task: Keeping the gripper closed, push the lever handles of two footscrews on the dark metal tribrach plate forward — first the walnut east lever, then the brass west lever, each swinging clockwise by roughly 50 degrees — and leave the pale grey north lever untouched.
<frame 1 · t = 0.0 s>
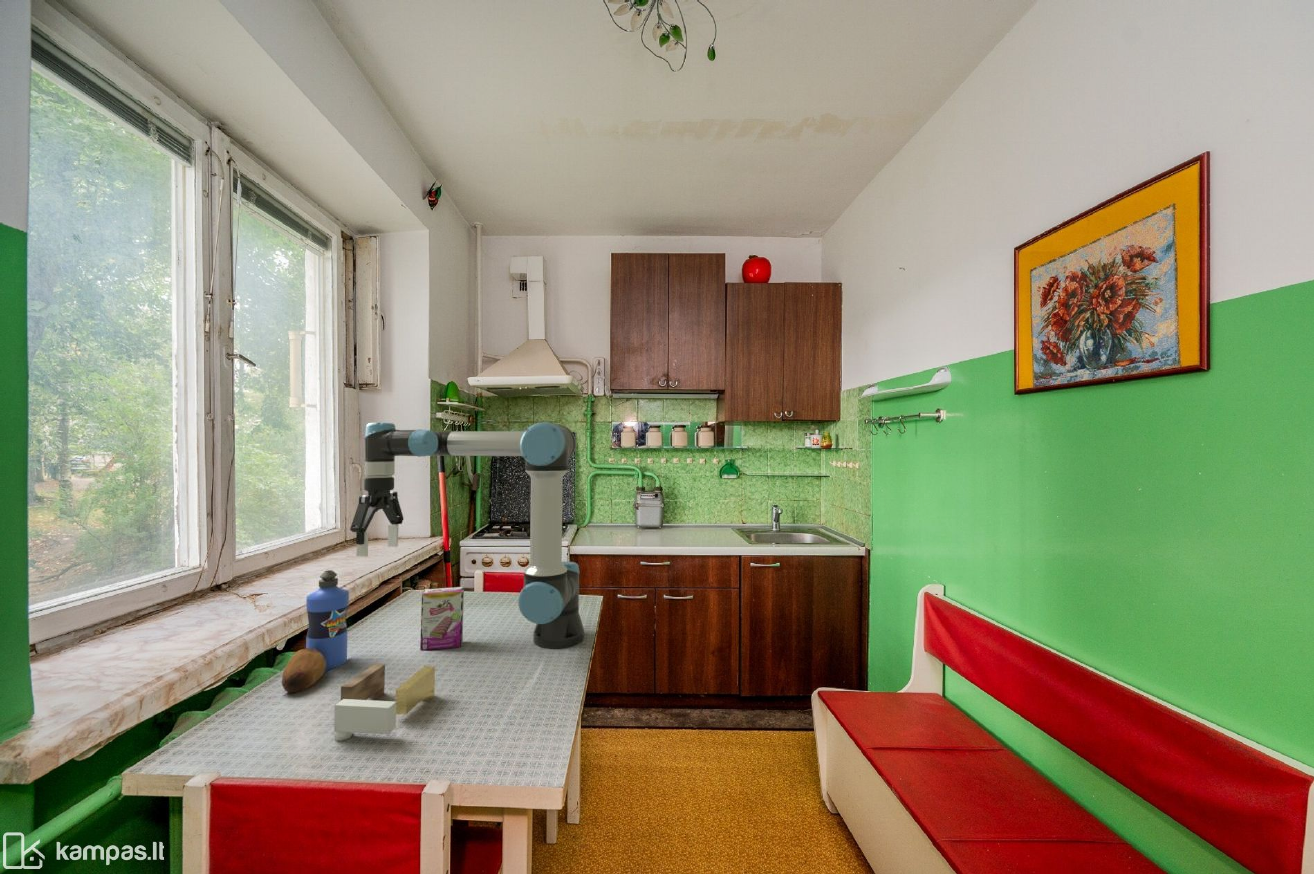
hand: (378, 551, 143), 28 cm above the table, fingers open, 13 cm apart
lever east: (364, 689, 110), point 4 cm above the table, hinge at 0.0°
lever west: (416, 692, 109), point 4 cm above the table, hinge at 0.0°
potato: (304, 688, 120), on the table
water bottle: (326, 667, 131), on the table
tribrach plate: (377, 717, 107), on the table
candy bar box: (442, 647, 145), on the table
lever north: (364, 720, 97), point 4 cm above the table, hinge at 0.0°
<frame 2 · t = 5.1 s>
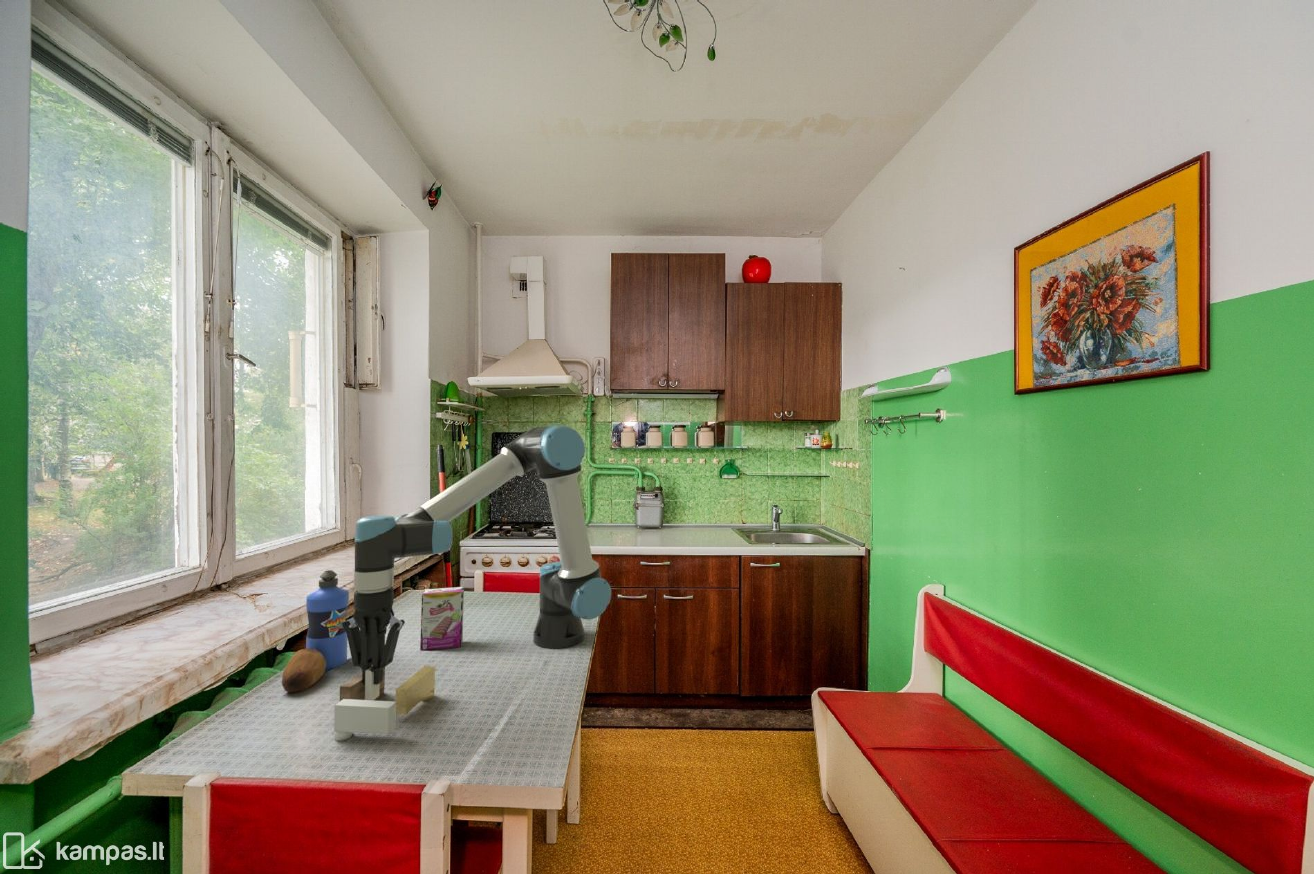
hand: (372, 698, 108), 4 cm above the table, fingers closed
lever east: (364, 689, 110), point 4 cm above the table, hinge at -1.6°, touching gripper
everything else where it was.
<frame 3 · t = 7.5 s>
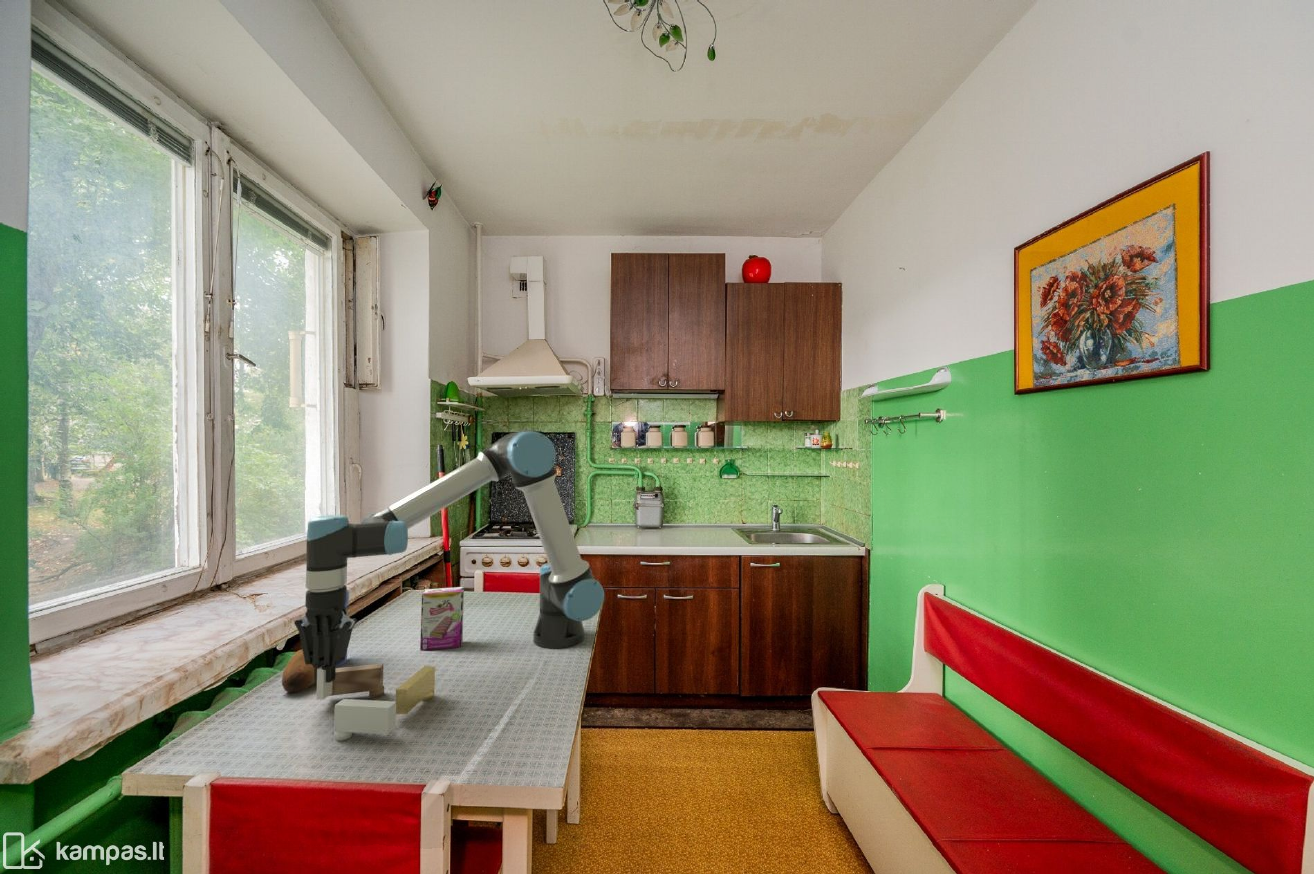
hand: (324, 696, 109), 3 cm above the table, fingers closed
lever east: (355, 682, 113), point 4 cm above the table, hinge at -69.2°, touching gripper
everything else where it was.
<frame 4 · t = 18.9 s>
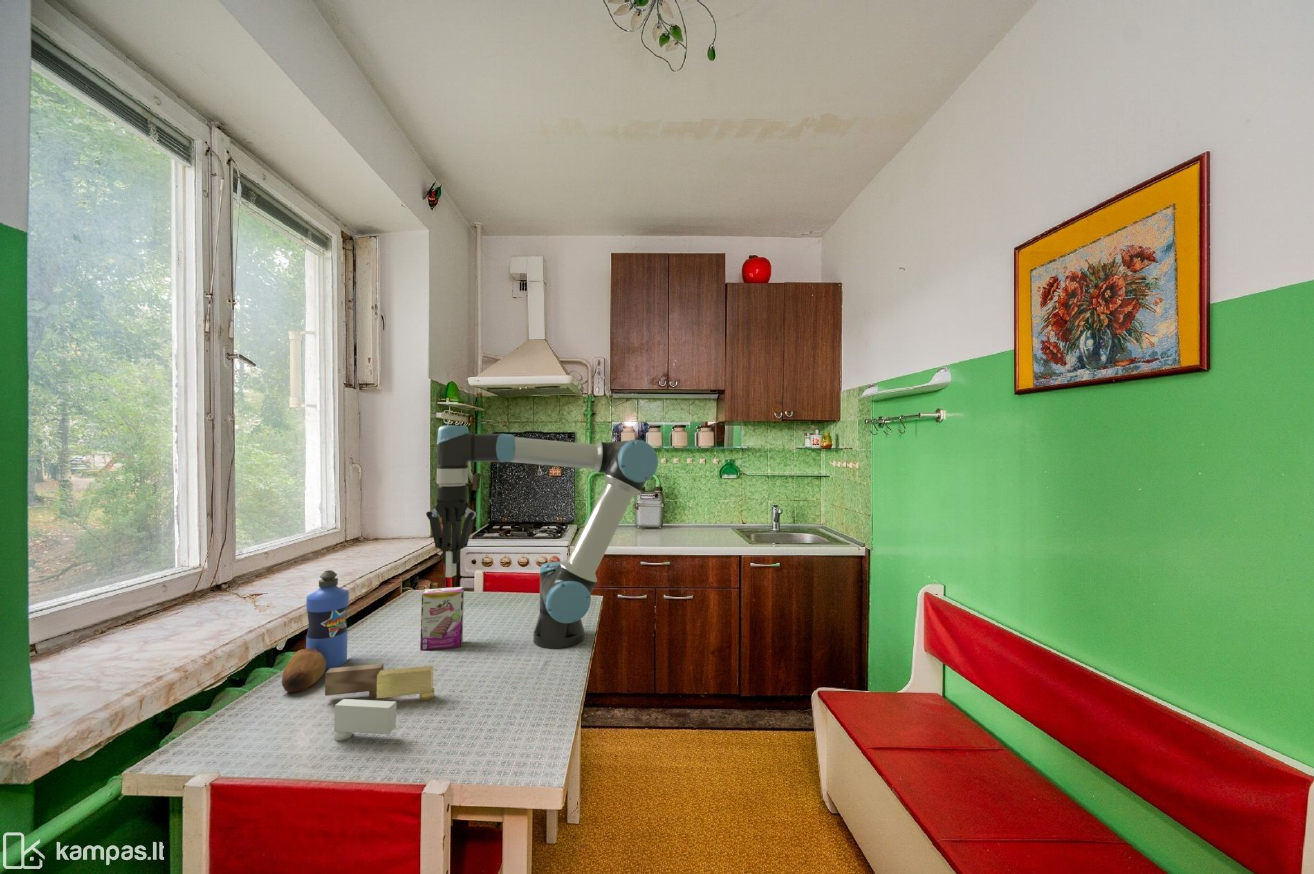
hand: (450, 575, 130), 24 cm above the table, fingers closed
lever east: (356, 682, 113), point 4 cm above the table, hinge at -70.8°
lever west: (406, 684, 112), point 4 cm above the table, hinge at -71.2°
everything else where it was.
at the end: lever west at -71° (first picture: +0°); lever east at -71° (first picture: +0°); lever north at +0° (first picture: +0°) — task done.
